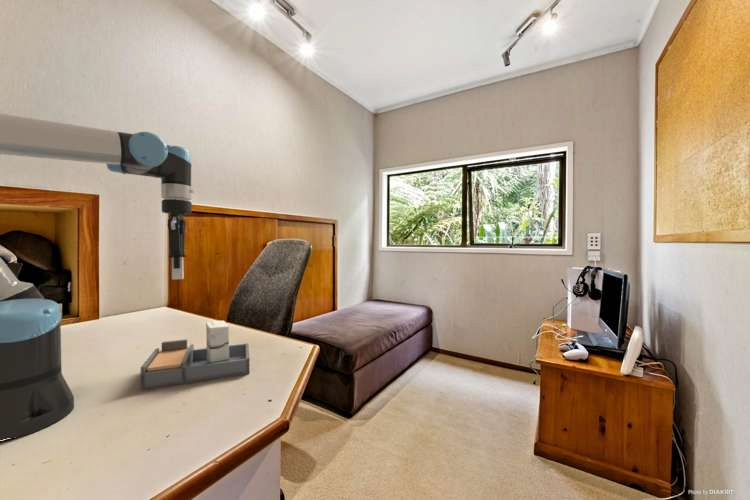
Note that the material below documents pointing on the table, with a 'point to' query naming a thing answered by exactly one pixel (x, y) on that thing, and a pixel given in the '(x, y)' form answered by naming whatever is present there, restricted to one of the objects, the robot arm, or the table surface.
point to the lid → (170, 355)
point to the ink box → (217, 341)
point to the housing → (196, 368)
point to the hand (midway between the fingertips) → (177, 279)
